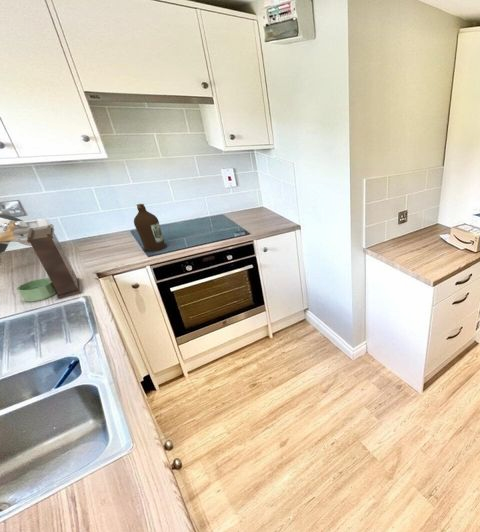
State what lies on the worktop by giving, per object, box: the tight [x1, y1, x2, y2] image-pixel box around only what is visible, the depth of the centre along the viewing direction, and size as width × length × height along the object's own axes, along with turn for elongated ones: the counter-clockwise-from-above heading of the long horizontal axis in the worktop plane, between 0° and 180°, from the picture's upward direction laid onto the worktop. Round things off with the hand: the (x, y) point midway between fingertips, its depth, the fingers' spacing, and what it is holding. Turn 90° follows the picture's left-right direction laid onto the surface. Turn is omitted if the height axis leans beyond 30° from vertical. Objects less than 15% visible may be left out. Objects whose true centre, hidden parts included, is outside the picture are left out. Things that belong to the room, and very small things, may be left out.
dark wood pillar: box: [27, 225, 82, 300], centre depth 133 cm, size 7×15×27 cm, turn 43°
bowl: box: [16, 277, 58, 302], centre depth 133 cm, size 10×10×6 cm
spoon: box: [0, 221, 16, 242], centre depth 128 cm, size 4×23×2 cm, turn 43°
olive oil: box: [133, 203, 167, 252], centre depth 173 cm, size 11×11×25 cm
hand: (11, 224), depth 133 cm, fingers closed on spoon, 2 cm apart
